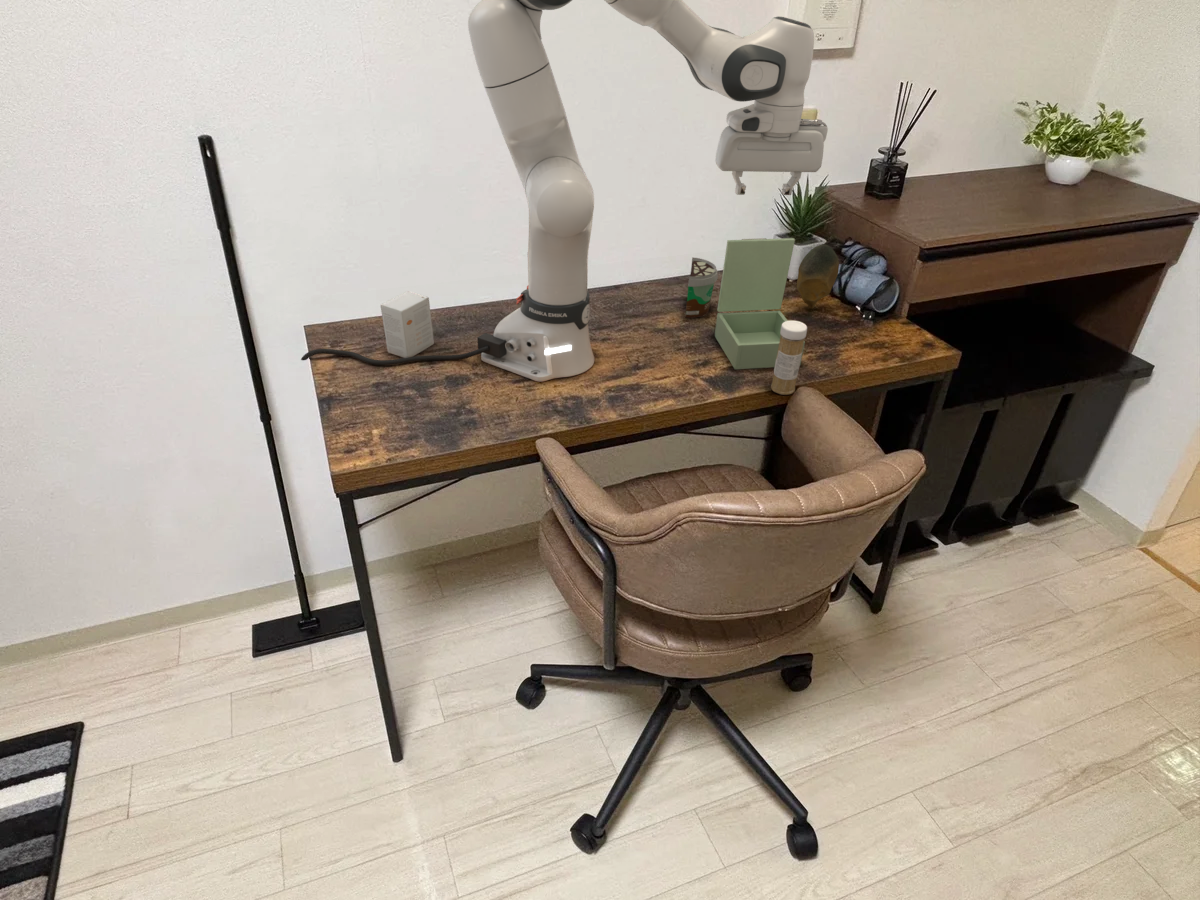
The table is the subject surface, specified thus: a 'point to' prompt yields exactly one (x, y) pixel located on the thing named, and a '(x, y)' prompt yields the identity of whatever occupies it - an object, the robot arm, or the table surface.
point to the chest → (750, 337)
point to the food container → (700, 287)
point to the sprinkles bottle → (788, 357)
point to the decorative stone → (817, 274)
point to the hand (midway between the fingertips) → (763, 194)
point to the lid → (755, 274)
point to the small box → (407, 324)
